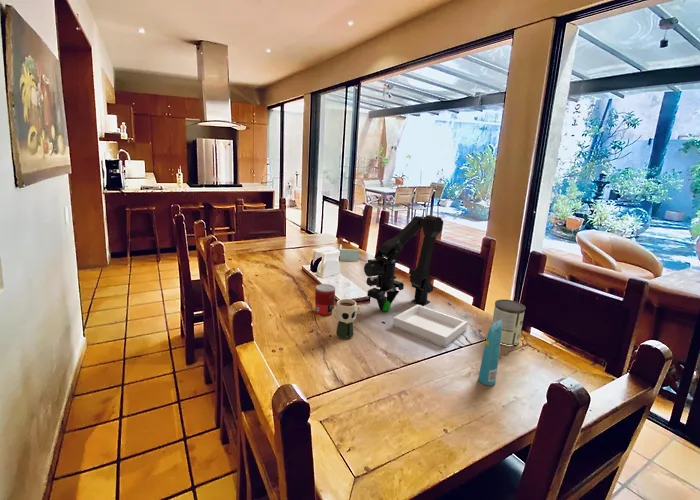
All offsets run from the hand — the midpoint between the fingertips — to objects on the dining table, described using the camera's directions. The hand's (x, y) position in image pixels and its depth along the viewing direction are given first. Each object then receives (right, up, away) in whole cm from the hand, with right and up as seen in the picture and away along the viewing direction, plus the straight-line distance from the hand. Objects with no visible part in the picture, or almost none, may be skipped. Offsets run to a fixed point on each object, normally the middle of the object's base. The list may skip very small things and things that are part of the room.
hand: (384, 308), depth 157 cm
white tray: (+16, -6, -14) cm, 22 cm away
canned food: (-25, -1, -5) cm, 26 cm away
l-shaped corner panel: (-15, +19, +74) cm, 78 cm away
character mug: (-17, -6, -23) cm, 29 cm away
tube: (+26, -15, -45) cm, 54 cm away
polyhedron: (0, -1, 0) cm, 1 cm away
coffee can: (+43, -9, -19) cm, 48 cm away
